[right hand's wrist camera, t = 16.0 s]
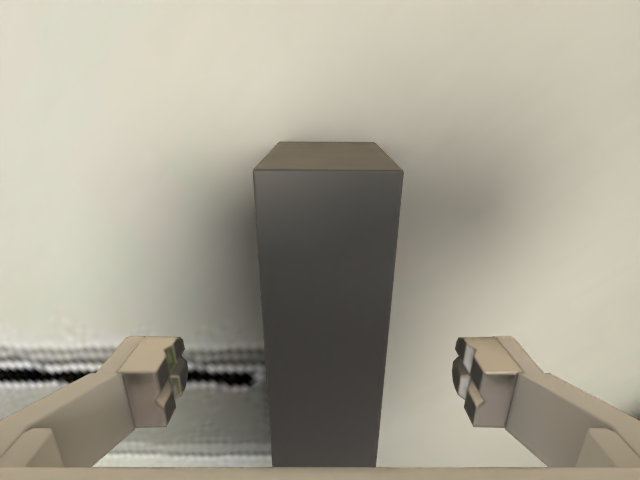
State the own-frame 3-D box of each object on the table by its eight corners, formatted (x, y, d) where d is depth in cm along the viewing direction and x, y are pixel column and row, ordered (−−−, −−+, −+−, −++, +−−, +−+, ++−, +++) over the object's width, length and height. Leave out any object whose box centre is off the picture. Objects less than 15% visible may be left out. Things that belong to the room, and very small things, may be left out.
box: (278, 141, 22) (252, 169, 14) (375, 142, 22) (404, 170, 14) (289, 424, 31) (277, 540, 23) (357, 425, 31) (369, 541, 23)
